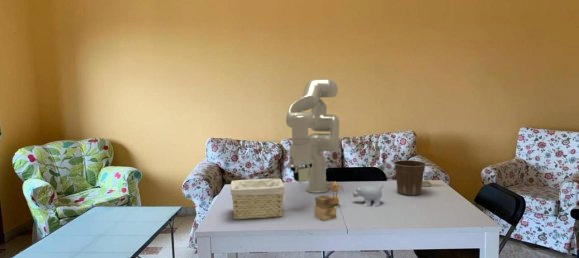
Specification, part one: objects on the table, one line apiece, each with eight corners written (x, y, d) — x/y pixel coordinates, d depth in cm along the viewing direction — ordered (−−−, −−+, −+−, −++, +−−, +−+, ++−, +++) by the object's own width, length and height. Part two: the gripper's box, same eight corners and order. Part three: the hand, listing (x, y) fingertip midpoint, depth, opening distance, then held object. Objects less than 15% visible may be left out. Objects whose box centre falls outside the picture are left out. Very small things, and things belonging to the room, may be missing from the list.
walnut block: (327, 203, 176) (327, 194, 176) (334, 207, 171) (334, 198, 170) (315, 205, 174) (315, 196, 173) (322, 209, 168) (322, 200, 168)
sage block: (303, 178, 186) (303, 166, 185) (309, 180, 182) (308, 168, 181) (294, 180, 184) (294, 167, 183) (299, 182, 179) (299, 170, 178)
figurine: (342, 203, 192) (342, 179, 190) (344, 206, 186) (344, 182, 184) (326, 203, 192) (325, 179, 190) (327, 207, 186) (326, 182, 184)
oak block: (327, 213, 178) (327, 202, 177) (336, 217, 172) (336, 206, 171) (314, 216, 174) (314, 205, 174) (323, 220, 168) (323, 209, 168)
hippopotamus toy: (352, 199, 198) (352, 181, 197) (383, 199, 195) (383, 181, 194) (352, 206, 187) (352, 186, 186) (384, 206, 185) (384, 187, 184)
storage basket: (281, 206, 189) (280, 177, 187) (285, 218, 173) (284, 185, 171) (232, 210, 186) (230, 180, 184) (231, 222, 170) (230, 189, 168)
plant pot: (412, 187, 216) (413, 158, 215) (432, 195, 201) (432, 164, 199) (387, 190, 211) (387, 161, 209) (405, 198, 196) (405, 167, 194)
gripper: (311, 137, 187) (312, 174, 190) (280, 142, 179) (281, 180, 182) (320, 140, 180) (321, 178, 183) (287, 144, 172) (289, 184, 175)
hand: (301, 178), depth 182 cm, fingers closed on sage block, 5 cm apart
